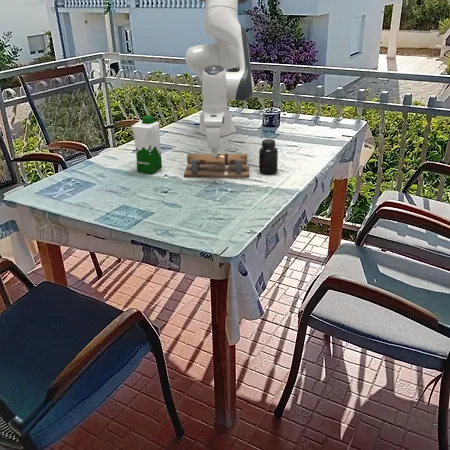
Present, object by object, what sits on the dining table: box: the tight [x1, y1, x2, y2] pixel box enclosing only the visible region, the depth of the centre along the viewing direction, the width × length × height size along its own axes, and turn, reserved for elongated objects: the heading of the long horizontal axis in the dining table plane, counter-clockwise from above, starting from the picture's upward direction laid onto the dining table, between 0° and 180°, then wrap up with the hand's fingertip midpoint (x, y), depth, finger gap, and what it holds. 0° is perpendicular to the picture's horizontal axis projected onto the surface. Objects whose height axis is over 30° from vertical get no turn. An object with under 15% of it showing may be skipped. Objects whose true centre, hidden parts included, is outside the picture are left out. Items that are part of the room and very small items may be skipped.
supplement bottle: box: [258, 138, 279, 176], centre depth 176 cm, size 7×7×12 cm
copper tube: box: [186, 153, 248, 165], centre depth 177 cm, size 22×4×4 cm, turn 87°
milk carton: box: [130, 115, 163, 175], centre depth 177 cm, size 9×9×20 cm
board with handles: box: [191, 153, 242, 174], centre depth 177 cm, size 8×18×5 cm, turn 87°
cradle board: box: [183, 164, 251, 179], centre depth 178 cm, size 10×24×1 cm, turn 87°
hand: (215, 151), depth 175 cm, fingers open, 8 cm apart
